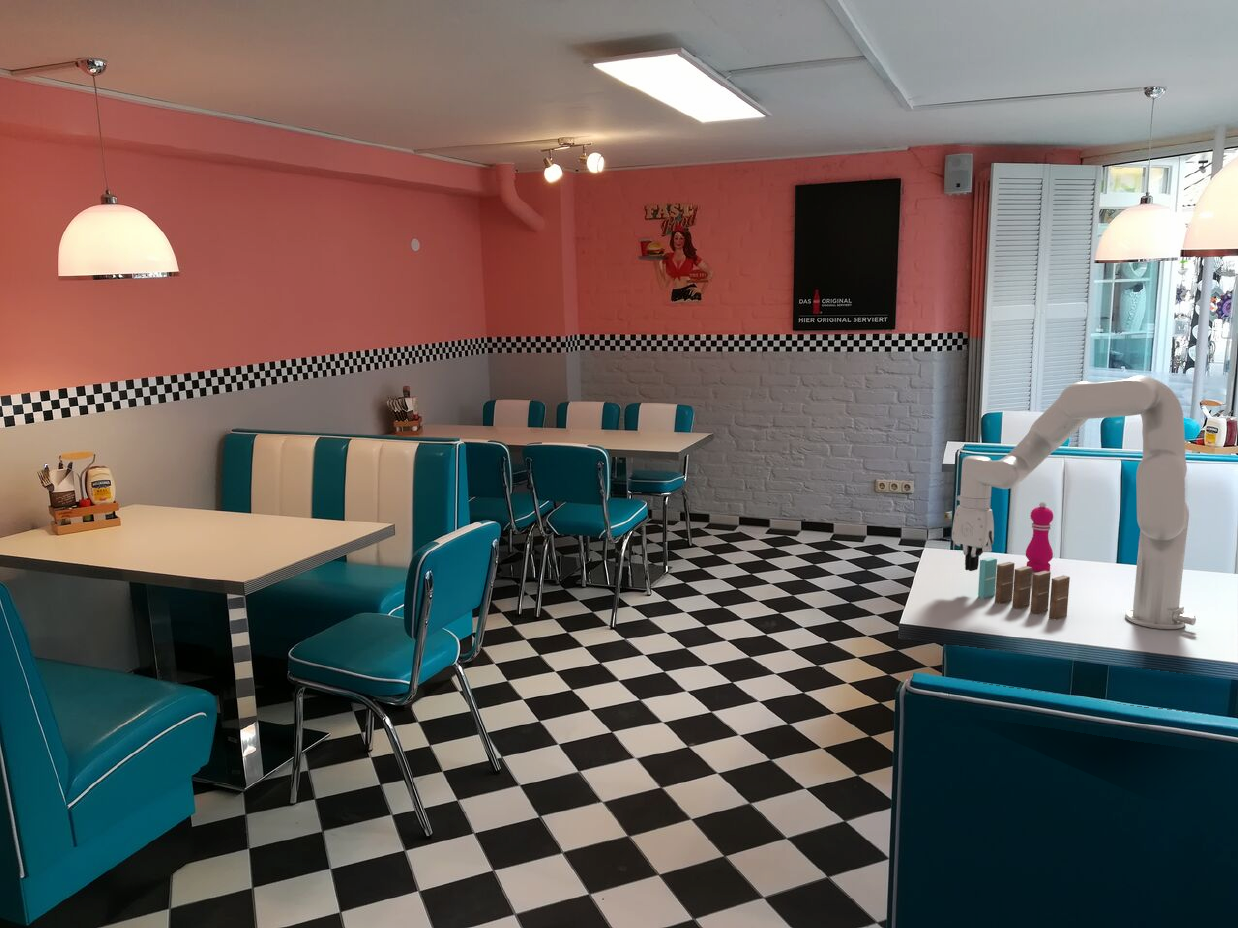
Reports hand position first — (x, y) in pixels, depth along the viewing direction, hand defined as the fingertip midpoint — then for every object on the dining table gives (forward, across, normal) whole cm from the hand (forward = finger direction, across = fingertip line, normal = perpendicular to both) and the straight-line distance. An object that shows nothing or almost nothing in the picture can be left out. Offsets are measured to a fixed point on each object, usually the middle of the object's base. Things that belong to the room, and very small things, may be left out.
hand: (971, 569), depth 244 cm
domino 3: (+6, +15, 0) cm, 16 cm away
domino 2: (+6, +10, 0) cm, 12 cm away
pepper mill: (+6, -2, +34) cm, 35 cm away
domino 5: (+6, +25, 0) cm, 26 cm away
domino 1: (+6, +5, 0) cm, 8 cm away
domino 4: (+6, +20, 0) cm, 21 cm away
